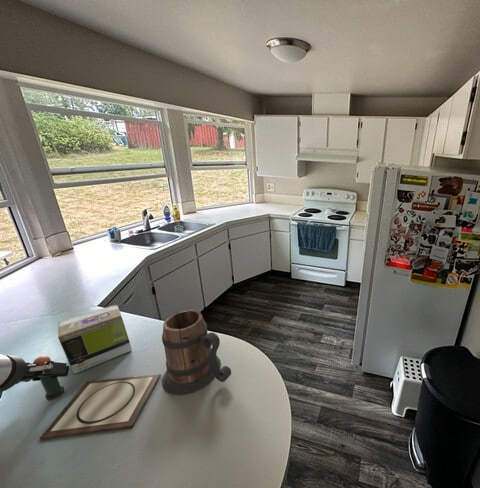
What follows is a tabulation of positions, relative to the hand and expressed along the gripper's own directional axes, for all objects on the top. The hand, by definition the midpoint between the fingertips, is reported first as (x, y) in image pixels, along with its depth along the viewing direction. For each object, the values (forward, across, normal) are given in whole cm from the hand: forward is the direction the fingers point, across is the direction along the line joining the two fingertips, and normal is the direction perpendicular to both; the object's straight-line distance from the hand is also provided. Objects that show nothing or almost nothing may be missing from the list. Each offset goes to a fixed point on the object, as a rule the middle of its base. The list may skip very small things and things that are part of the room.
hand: (58, 372), depth 72 cm
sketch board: (-4, +14, -11) cm, 19 cm away
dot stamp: (0, 0, -6) cm, 6 cm away
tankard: (-3, +37, -10) cm, 38 cm away
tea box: (+12, +6, +4) cm, 14 cm away
